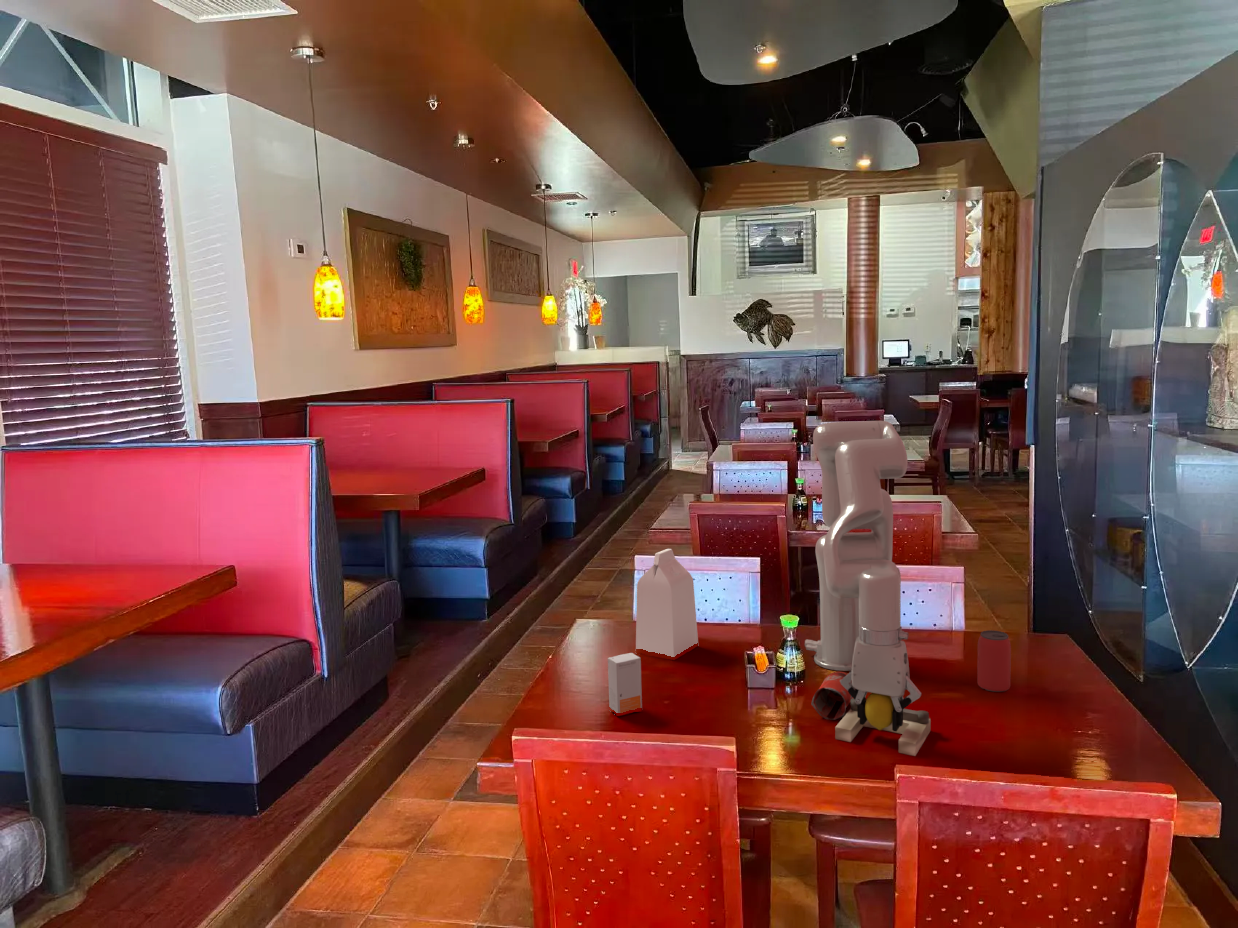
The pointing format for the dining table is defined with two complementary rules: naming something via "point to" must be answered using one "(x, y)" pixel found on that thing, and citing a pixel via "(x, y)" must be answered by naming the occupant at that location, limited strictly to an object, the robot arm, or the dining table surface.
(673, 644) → the milk
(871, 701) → the lemon
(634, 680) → the skincare box
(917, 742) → the beige u-shaped frame
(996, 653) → the beer can
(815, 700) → the beverage can
